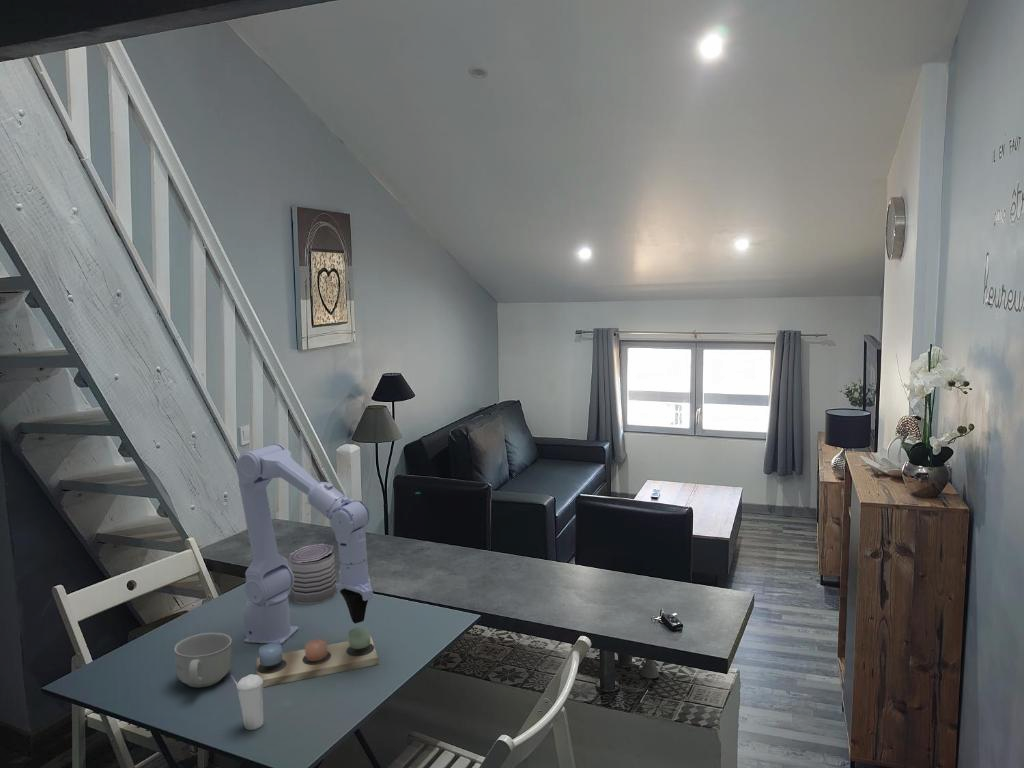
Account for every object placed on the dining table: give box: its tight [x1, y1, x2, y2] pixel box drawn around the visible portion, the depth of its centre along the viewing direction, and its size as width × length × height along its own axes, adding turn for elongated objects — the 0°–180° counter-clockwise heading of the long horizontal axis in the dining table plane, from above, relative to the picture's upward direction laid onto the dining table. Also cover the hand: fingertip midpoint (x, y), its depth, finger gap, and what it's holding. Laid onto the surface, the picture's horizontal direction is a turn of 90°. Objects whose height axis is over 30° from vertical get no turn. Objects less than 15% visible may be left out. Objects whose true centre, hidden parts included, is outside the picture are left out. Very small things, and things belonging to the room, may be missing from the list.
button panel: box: [255, 636, 379, 688], centre depth 156 cm, size 24×10×2 cm, turn 108°
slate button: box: [258, 643, 283, 666], centre depth 153 cm, size 4×4×3 cm
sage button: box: [348, 626, 371, 649], centre depth 158 cm, size 4×4×3 cm
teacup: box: [173, 632, 233, 688], centre depth 150 cm, size 14×11×8 cm
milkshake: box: [230, 673, 264, 731], centre depth 134 cm, size 4×5×10 cm
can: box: [287, 543, 338, 606], centre depth 191 cm, size 11×11×12 cm
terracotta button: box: [304, 638, 328, 661], centre depth 155 cm, size 4×4×3 cm
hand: (358, 621), depth 158 cm, fingers closed
